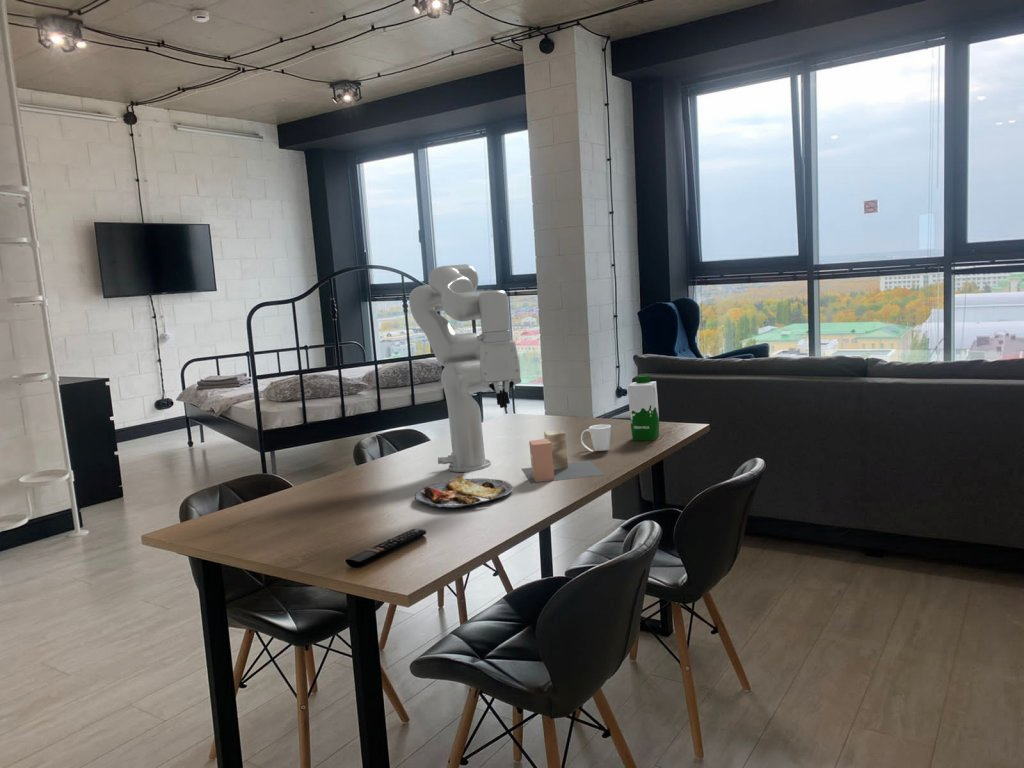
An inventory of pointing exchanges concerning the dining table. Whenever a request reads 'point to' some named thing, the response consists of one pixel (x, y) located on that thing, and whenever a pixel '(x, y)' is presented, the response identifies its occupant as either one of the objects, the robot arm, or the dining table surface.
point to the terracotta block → (541, 460)
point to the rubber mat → (569, 472)
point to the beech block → (558, 448)
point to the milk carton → (643, 409)
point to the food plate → (463, 492)
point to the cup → (599, 437)
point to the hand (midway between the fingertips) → (503, 406)
